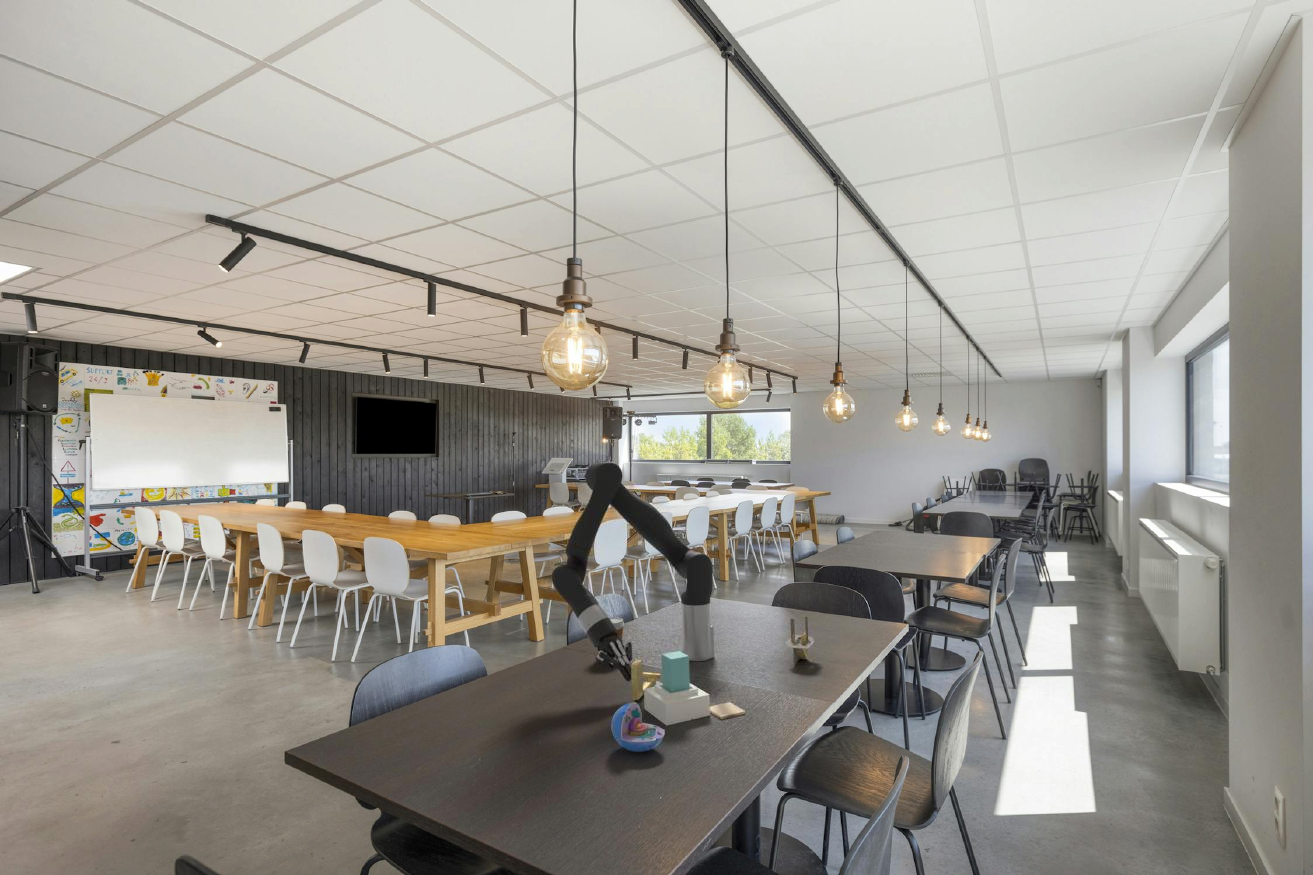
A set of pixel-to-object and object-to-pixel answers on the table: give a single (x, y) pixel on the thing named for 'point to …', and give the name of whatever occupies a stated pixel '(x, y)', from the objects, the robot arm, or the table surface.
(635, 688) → the key lever
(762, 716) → the table surface
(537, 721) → the table surface
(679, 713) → the housing
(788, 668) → the table surface
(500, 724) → the table surface
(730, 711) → the pad
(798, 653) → the two-pronged ringed stand
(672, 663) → the teal upright prism
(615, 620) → the disposable coffee cup
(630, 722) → the cell model
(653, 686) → the key socket
